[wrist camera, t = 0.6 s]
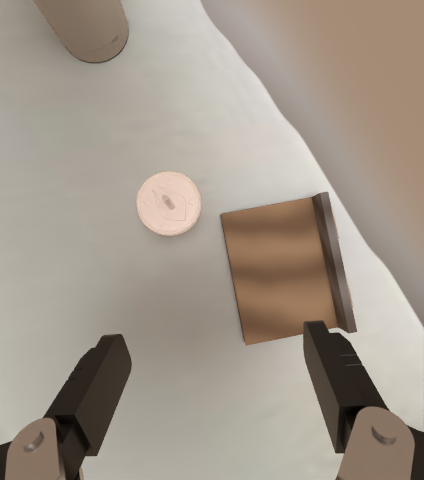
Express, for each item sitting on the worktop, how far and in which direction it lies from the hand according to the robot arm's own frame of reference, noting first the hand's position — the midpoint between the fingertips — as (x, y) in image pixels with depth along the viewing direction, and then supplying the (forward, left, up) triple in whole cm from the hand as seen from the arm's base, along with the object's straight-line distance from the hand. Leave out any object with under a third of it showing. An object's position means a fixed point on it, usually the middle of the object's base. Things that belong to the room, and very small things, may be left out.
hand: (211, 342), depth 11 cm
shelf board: (+3, +9, -23) cm, 25 cm away
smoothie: (-10, +1, -23) cm, 25 cm away
